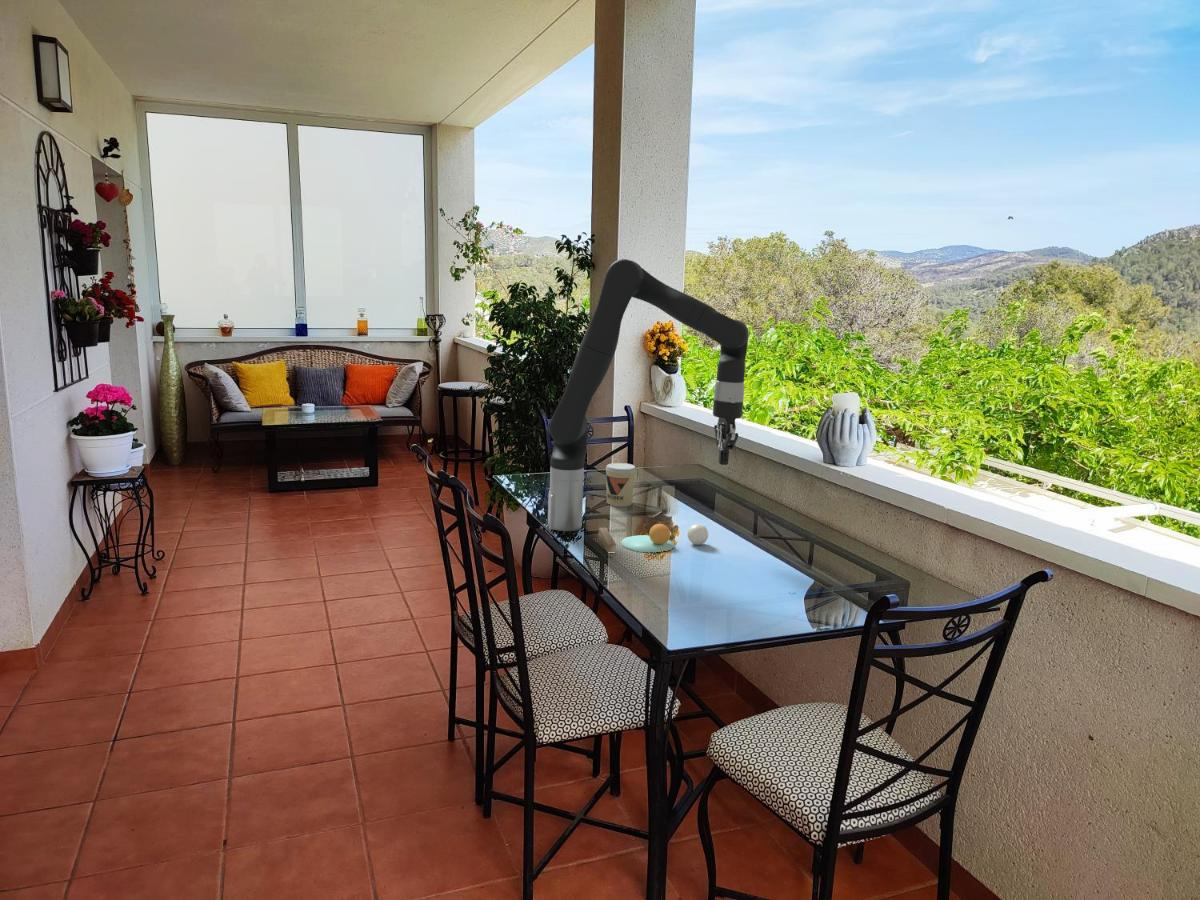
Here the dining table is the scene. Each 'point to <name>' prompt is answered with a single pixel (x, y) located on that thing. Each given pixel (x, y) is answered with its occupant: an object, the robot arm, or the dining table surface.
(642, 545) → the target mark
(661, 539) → the object ball
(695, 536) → the cue ball
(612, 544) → the brown wooden bar
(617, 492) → the coffee cup
